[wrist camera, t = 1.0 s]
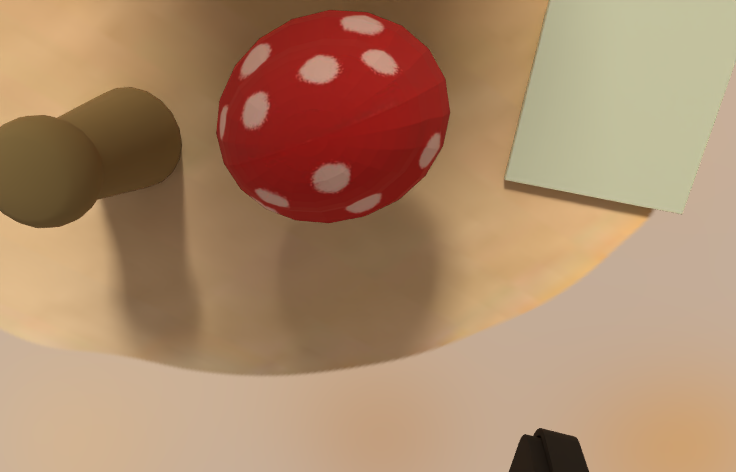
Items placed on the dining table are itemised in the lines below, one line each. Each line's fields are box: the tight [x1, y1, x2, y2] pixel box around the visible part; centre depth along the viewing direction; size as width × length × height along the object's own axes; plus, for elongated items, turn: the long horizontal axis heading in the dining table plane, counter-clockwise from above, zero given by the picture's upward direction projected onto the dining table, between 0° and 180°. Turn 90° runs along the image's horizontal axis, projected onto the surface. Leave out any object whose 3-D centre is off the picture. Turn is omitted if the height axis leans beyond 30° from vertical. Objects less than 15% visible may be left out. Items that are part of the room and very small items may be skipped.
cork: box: [0, 87, 182, 228], centre depth 34 cm, size 6×6×11 cm
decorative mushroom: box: [216, 10, 450, 223], centre depth 29 cm, size 10×9×15 cm
